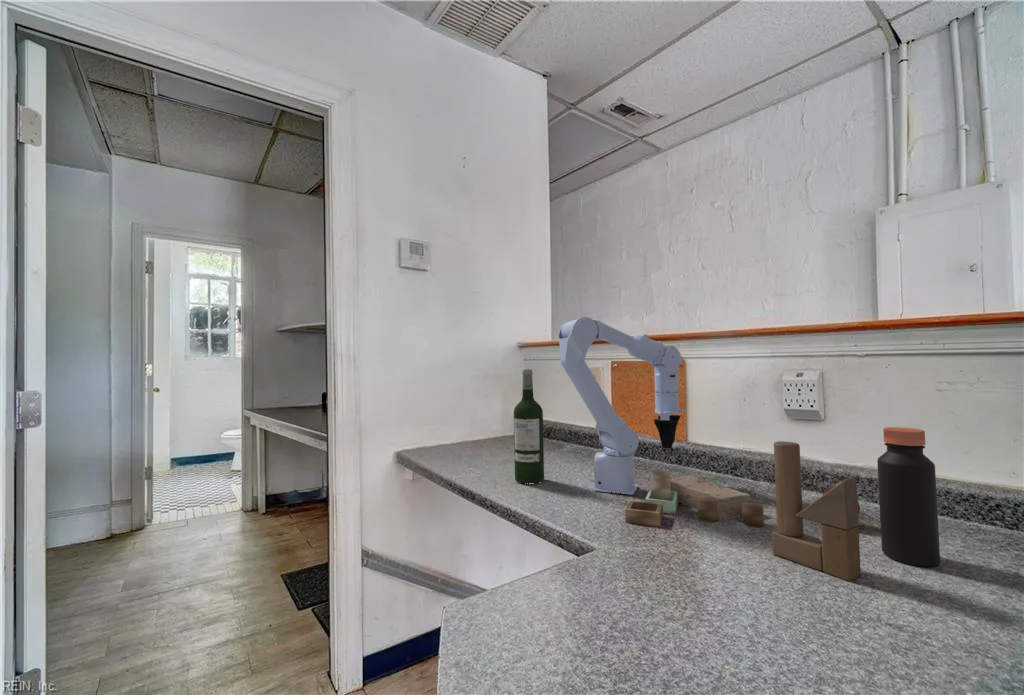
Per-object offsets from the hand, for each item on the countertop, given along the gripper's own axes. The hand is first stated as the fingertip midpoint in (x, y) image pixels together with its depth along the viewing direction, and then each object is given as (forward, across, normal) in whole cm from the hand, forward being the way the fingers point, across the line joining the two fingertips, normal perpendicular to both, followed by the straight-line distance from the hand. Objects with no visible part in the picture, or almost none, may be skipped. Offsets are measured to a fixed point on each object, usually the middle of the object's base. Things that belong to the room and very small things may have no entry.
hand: (668, 445), depth 113 cm
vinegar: (+10, -31, -38) cm, 50 cm away
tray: (+10, -19, 0) cm, 21 cm away
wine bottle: (+10, -9, +35) cm, 38 cm away
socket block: (+10, -28, +2) cm, 30 cm away
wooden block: (+10, -39, -24) cm, 47 cm away
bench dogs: (+10, -23, -13) cm, 28 cm away
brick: (+10, -14, -9) cm, 20 cm away
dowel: (+9, -19, 0) cm, 21 cm away
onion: (+10, -18, -32) cm, 38 cm away
